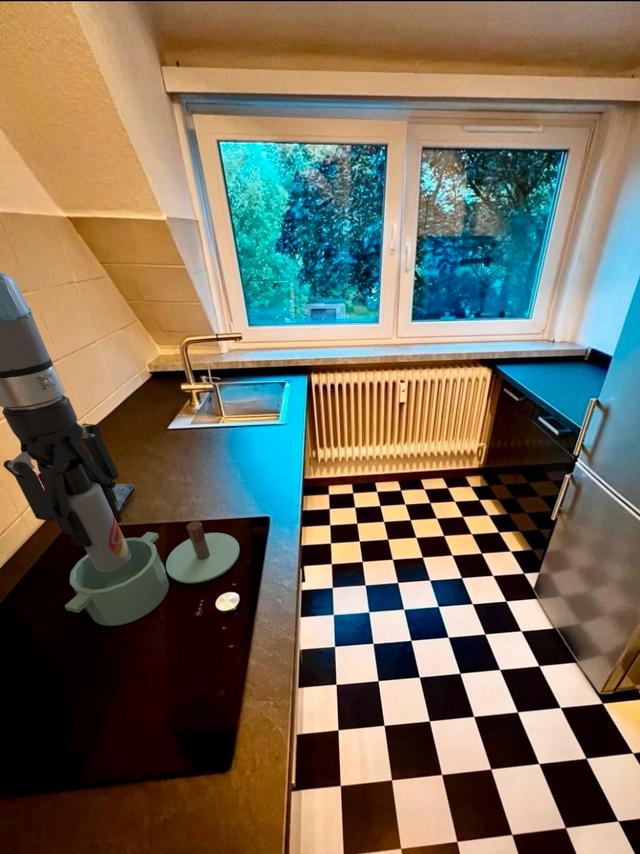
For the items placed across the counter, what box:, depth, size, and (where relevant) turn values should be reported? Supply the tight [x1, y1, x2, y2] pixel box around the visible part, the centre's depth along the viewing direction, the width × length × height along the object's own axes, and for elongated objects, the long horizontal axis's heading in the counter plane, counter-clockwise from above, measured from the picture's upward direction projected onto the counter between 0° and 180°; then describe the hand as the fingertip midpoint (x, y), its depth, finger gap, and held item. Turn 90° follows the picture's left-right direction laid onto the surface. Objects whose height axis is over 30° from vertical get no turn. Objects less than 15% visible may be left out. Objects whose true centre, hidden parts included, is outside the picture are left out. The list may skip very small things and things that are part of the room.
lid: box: [165, 520, 241, 584], centre depth 79 cm, size 15×15×9 cm
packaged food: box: [112, 483, 136, 514], centre depth 97 cm, size 9×12×5 cm
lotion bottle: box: [63, 459, 131, 572], centre depth 63 cm, size 6×6×20 cm
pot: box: [64, 531, 170, 627], centre depth 71 cm, size 14×19×8 cm
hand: (99, 531), depth 65 cm, fingers closed on lotion bottle, 6 cm apart
